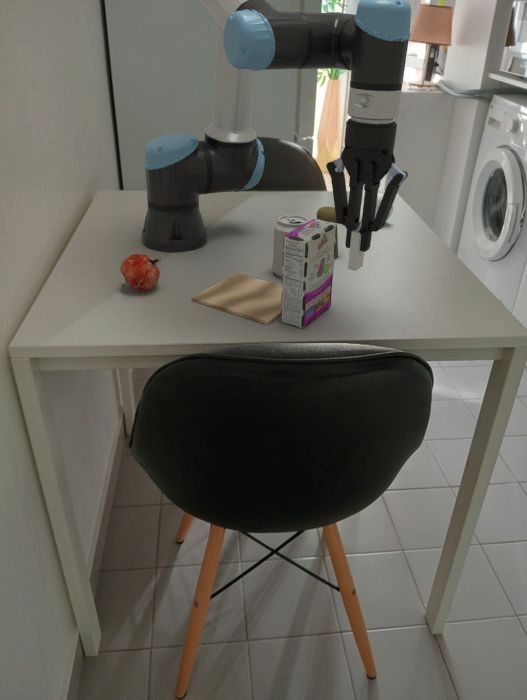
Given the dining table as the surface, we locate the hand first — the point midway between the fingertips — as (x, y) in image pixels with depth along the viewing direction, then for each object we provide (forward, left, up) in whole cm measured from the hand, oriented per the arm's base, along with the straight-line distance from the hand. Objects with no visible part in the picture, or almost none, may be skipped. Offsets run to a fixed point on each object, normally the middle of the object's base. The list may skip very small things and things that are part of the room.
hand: (355, 267), depth 102 cm
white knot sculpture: (-22, +55, -12) cm, 60 cm away
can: (-21, +15, -12) cm, 28 cm away
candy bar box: (-9, 0, -12) cm, 15 cm away
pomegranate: (-41, -9, -12) cm, 43 cm away
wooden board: (-21, 0, -11) cm, 24 cm away
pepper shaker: (-20, +29, -12) cm, 37 cm away
